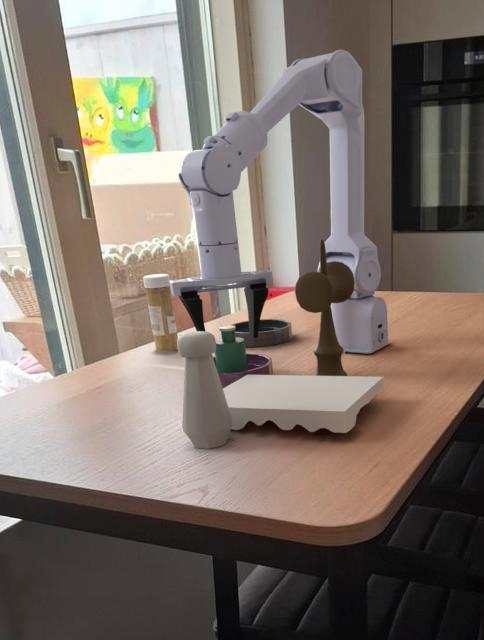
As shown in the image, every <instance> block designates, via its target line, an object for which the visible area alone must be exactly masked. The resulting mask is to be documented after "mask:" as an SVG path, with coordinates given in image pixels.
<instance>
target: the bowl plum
mask: <svg viewBox="0 0 484 640" xmlns="http://www.w3.org/2000/svg"><path fill="white" fill-rule="evenodd" d="M246 358H247V367H248V370H247V371H242V372H234V373H218V375H219V378H220V382H221V385H222V388H225V387H227V386H229V385H230V384H232V383H234V382H236V381H237V380H239V379H241V378H243V377H244V376H246V375H274V368H273V367H274V366H273V359H272V357H270V356H269V355H267V354H266V355H265V354H262V353H252V352H251V353H250V352H246ZM213 359H214V362H215V366H216V359H215V355H213ZM216 369H217V367H216Z"/></svg>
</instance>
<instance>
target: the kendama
mask: <svg viewBox="0 0 484 640" xmlns="http://www.w3.org/2000/svg"><path fill="white" fill-rule="evenodd" d="M319 263H320V267H319V269H318V268H317V271H314V270H312V271H307V272H304V273H303V274H301V275H300V276H299V277H298V278H297V281H296V282H295V289H294V294H295V299H296V302H297V304H298V305H299V306H300V308H301V309H303V310H304V311H306V312H307V313H312V314H318V313H320V322H319V333H318V340H317V344H316V347H315V349H314V350H313V354H314V356H315V357H316V371H315V372H314V374H313V376H348V373H347V372H346V371H345V370H344V367H343V363H342V354H343V352H345V351H344V349H343V348H342V346H340V344H339V342H338V339H337V336H336V332H335V327H334V322H333V316H332V310H331V303H341V302H344V301H346V300H347V299H349V298H350V297H351V295H352V293H353V291H354V284H355V281H354V276H353V273H352V271H351V269H350V268H349V266H347V265H346V264H344V263H342V262H337V261H332V262H327V260H326V249H325V240H324V239H320V241H319Z"/></svg>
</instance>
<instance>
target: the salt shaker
mask: <svg viewBox="0 0 484 640" xmlns="http://www.w3.org/2000/svg"><path fill="white" fill-rule="evenodd" d="M205 331H206V330H205ZM205 331H196V330H194V331H188V332H185V333H183V334H180V335H179V336H178V340H177V349H178V350H177V353H178V355H179V356H181V358H184V370H183V371H184V374H183V377H184V378H183V404H182V423H181V425H182V426H181V427H182V430H183V432H184V434H185V435H186V436H187V438H188V439H189V441H190V442H191V443H192V445H193V446H194V448H195V449H205V450H210V449H215V448H218V447H219V448H220V447H223V446H224V445H225V444H226V443H227V441H228V440H229V436H230V432H231V430H232V429H231V427H232V417H231V414H230V411H229V407H228V404H227V401H226V398H225V394H224V391H223V388H222V385H221V382H220V378H219V375H218V372H217V369H216V366H215V362H214V359H213V357H214V355H213V354H215V351H216V340H217V339H216V337H215V335H214V334H213V333H211V332H209V331H206V332H205Z"/></svg>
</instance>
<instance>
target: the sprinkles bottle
mask: <svg viewBox="0 0 484 640" xmlns="http://www.w3.org/2000/svg"><path fill="white" fill-rule="evenodd" d="M142 281H143V287H144V288H145V289H144V290H145V293H146V300H147V307H148V314H149V319H150V326H151V331H152V336H153V340H154V346H155V348H154V351H155V352H157V353H167V352H168V353H169V352H174V351H178V349H177V340H178V338H179V336H178V329H177V321H176V317H175V316H176V315H175V310H174V304H173V299H172V298H173V297H172V293H171V287H170V281H171V278H170V275H169V274H168V273H154V274H148V275H145V276H143V277H142Z"/></svg>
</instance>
